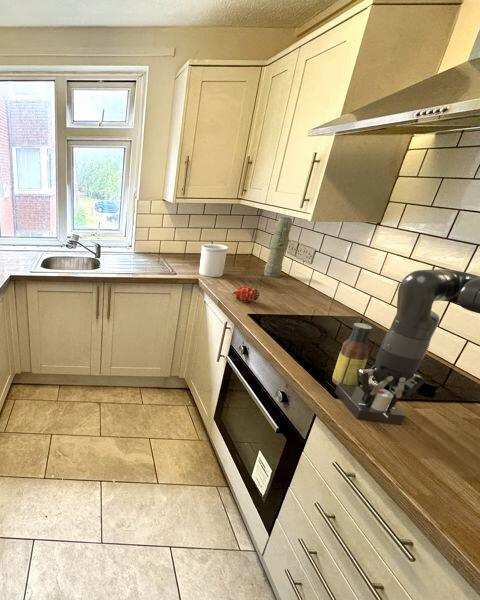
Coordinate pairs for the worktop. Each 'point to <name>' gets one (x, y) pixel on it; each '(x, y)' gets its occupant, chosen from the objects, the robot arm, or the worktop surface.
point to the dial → (382, 400)
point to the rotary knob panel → (361, 411)
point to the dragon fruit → (246, 294)
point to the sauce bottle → (352, 356)
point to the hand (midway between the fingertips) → (376, 405)
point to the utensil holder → (212, 260)
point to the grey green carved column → (278, 247)
